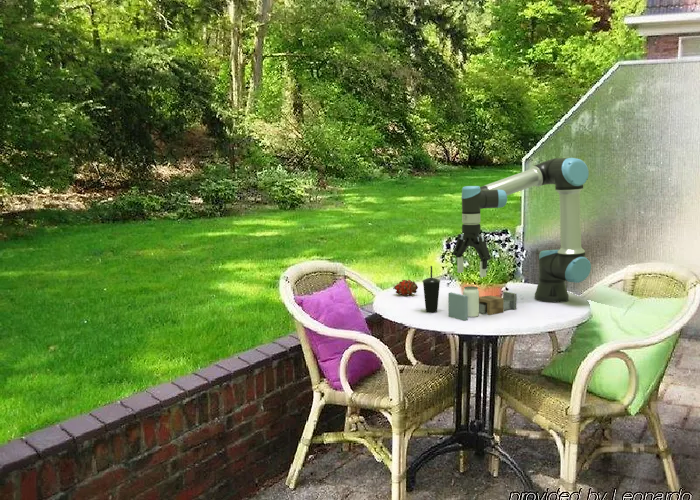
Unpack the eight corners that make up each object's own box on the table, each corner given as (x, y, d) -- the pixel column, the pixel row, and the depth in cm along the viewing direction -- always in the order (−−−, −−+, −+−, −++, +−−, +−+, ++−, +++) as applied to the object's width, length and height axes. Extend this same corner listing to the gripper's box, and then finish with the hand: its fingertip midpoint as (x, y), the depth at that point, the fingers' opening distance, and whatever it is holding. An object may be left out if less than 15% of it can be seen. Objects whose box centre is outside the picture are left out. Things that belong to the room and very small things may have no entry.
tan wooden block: (490, 309, 305) (490, 295, 304) (503, 312, 298) (503, 298, 298) (476, 311, 301) (476, 297, 300) (489, 315, 294) (489, 300, 293)
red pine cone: (419, 299, 337) (395, 302, 339) (419, 286, 343) (395, 289, 346) (416, 287, 331) (391, 290, 334) (416, 274, 337) (391, 277, 340)
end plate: (451, 315, 294) (451, 292, 293) (467, 320, 286) (467, 296, 285) (448, 316, 293) (448, 292, 292) (464, 320, 285) (464, 296, 284)
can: (481, 315, 294) (481, 287, 292) (473, 318, 289) (473, 289, 287) (468, 313, 298) (468, 285, 296) (460, 316, 293) (460, 287, 292)
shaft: (505, 306, 309) (505, 291, 308) (516, 308, 304) (516, 293, 303) (476, 311, 299) (476, 296, 299) (486, 314, 294) (486, 299, 293)
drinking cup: (422, 313, 299) (422, 267, 297) (422, 309, 307) (422, 264, 304) (440, 313, 298) (440, 267, 296) (440, 309, 306) (440, 264, 303)
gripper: (444, 222, 297) (444, 271, 300) (486, 226, 276) (486, 279, 279) (457, 221, 301) (458, 269, 304) (499, 225, 280) (499, 277, 283)
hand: (471, 274), depth 291 cm, fingers open, 13 cm apart
